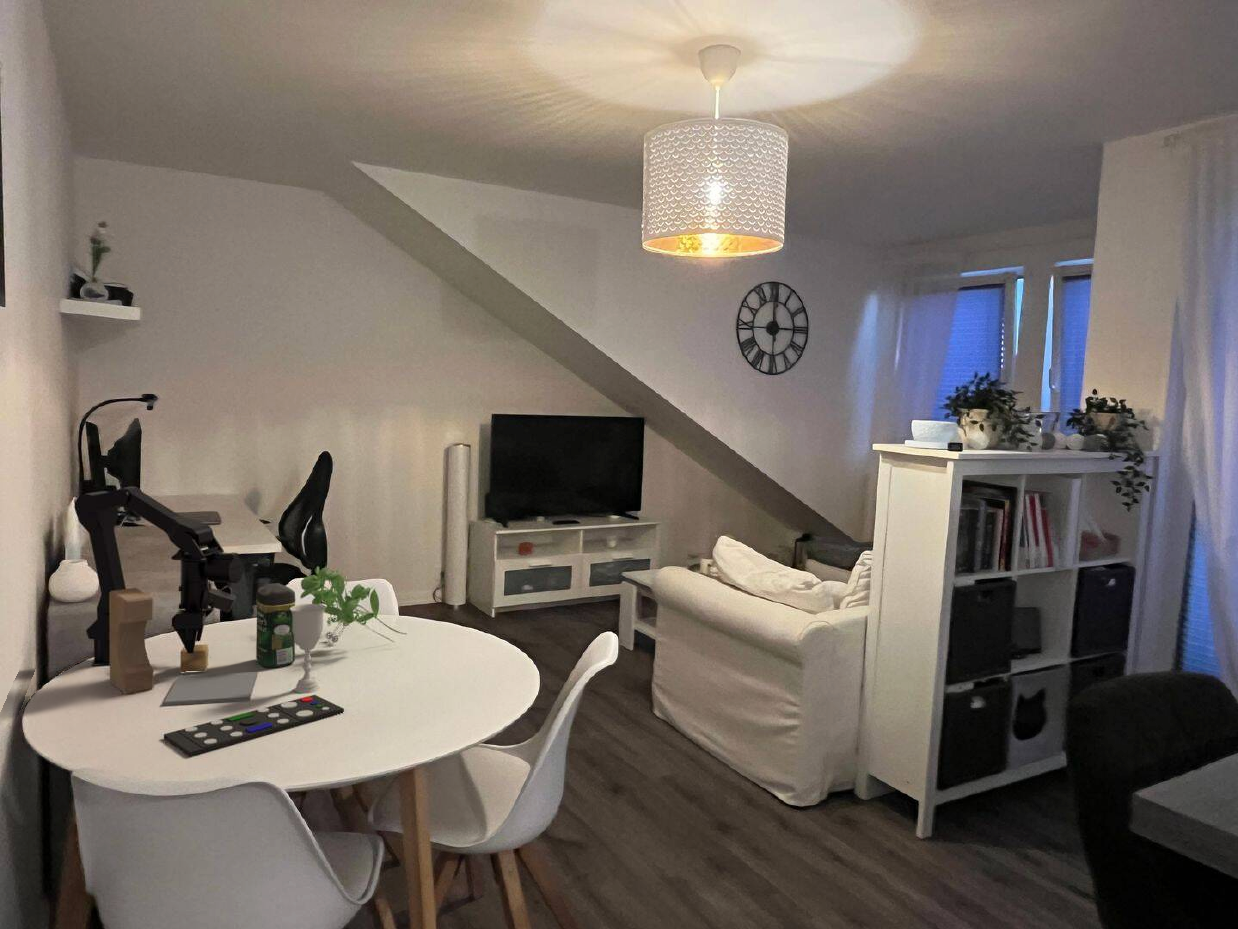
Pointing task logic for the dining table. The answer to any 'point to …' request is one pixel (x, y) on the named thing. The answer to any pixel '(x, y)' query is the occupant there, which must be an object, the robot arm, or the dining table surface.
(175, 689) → the charcoal mat
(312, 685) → the chalice
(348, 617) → the plant cuttings
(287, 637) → the coffee jar
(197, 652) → the oak cube
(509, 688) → the dining table surface
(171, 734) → the remote control
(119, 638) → the decorative block
